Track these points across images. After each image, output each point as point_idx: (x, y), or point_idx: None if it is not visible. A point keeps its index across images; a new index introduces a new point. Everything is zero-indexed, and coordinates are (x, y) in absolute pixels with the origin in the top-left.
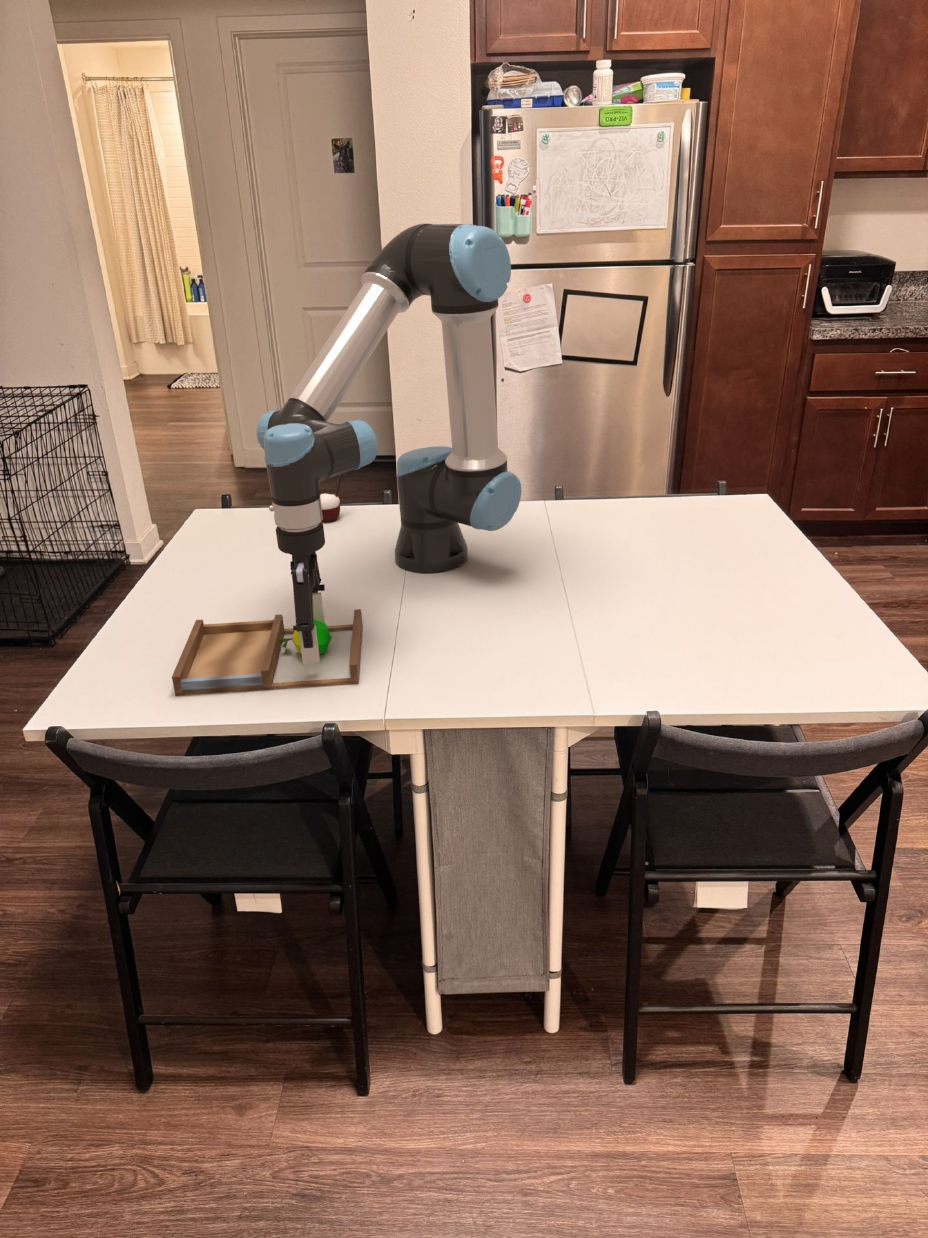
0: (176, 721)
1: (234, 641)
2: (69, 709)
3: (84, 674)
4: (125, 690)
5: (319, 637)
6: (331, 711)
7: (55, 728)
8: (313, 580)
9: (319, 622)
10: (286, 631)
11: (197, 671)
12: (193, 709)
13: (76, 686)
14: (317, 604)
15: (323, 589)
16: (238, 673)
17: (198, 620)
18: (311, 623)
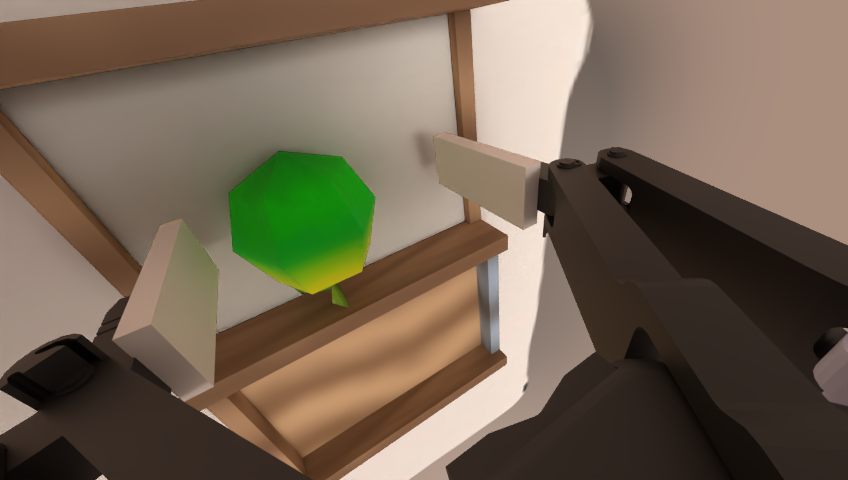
0: (536, 295)
1: (318, 395)
2: (498, 405)
3: (431, 459)
4: (466, 397)
5: (348, 182)
6: (559, 45)
7: (526, 386)
8: (731, 307)
9: (282, 222)
10: None
11: (440, 360)
12: (515, 295)
13: (456, 441)
14: (181, 299)
15: (55, 352)
16: (446, 300)
17: None
18: (641, 156)
